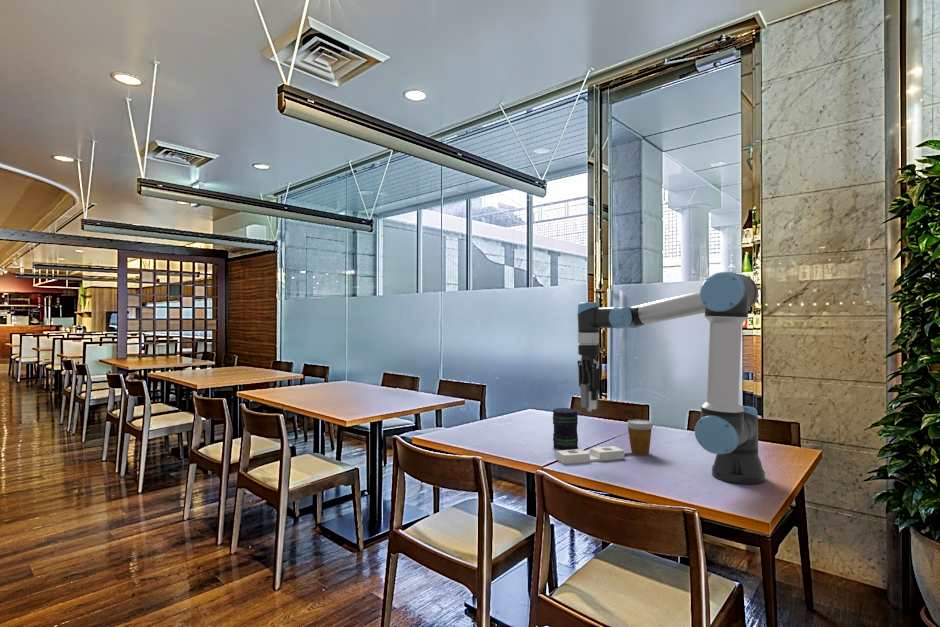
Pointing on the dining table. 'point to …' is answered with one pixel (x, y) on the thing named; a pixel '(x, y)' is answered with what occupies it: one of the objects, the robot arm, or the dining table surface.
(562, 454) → the power strip
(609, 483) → the dining table surface
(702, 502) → the dining table surface
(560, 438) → the storage jar
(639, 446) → the disposable coffee cup
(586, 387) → the charger
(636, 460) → the dining table surface
